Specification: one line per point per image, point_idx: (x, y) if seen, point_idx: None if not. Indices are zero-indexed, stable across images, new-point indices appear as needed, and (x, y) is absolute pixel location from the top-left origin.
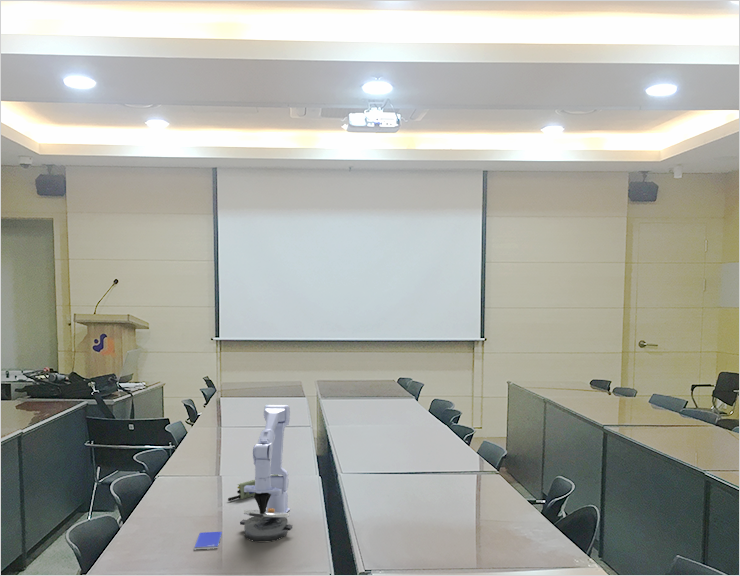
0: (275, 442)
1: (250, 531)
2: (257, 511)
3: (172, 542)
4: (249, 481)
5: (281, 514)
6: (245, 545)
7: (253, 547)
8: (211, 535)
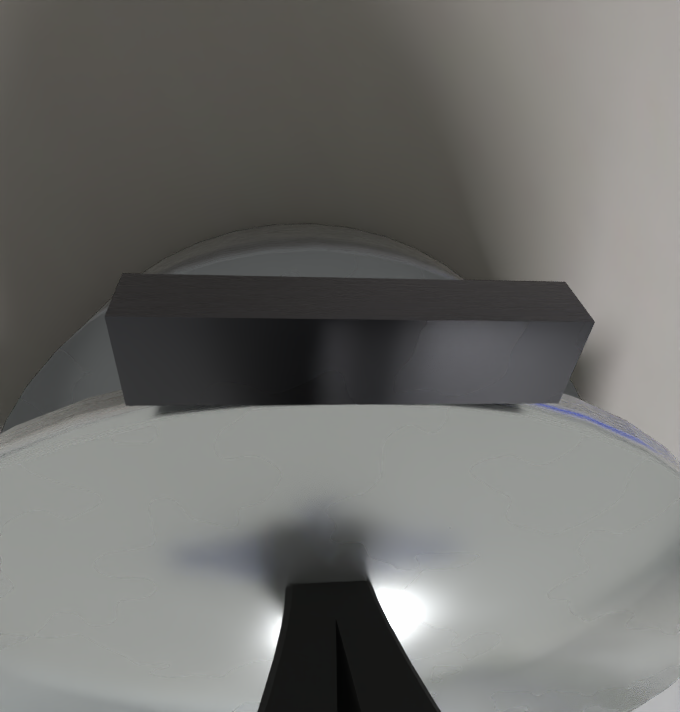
0: None
1: (430, 268)
2: (491, 680)
3: None
4: None
5: None
6: (411, 83)
7: (275, 44)
8: None
